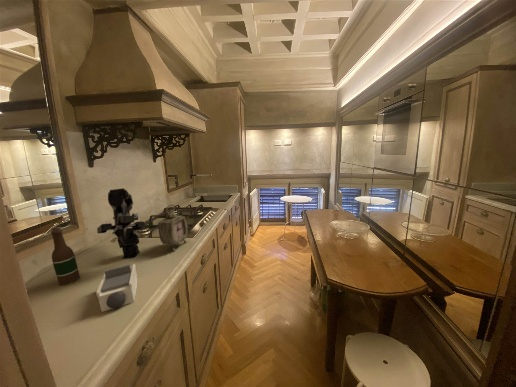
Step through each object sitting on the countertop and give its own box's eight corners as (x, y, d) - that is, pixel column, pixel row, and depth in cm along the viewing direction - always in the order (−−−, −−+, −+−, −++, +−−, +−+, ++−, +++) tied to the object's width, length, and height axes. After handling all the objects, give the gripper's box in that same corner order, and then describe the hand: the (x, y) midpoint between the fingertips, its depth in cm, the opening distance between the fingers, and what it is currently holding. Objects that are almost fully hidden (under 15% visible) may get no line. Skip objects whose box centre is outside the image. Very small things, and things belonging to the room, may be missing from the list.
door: (107, 279, 83) (105, 269, 82) (131, 272, 86) (129, 263, 86) (101, 292, 75) (99, 282, 74) (129, 284, 78) (127, 275, 78)
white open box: (109, 287, 88) (106, 270, 87) (138, 279, 93) (135, 263, 91) (100, 314, 73) (95, 295, 71) (134, 303, 77) (130, 285, 76)
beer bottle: (62, 278, 97) (48, 229, 92) (83, 273, 100) (71, 225, 95) (54, 287, 90) (39, 235, 85) (77, 282, 93) (63, 231, 88)
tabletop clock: (174, 253, 115) (167, 208, 110) (160, 252, 117) (153, 208, 112) (189, 241, 129) (184, 201, 123) (177, 240, 131) (171, 201, 126)
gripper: (104, 207, 91) (108, 243, 87) (148, 206, 106) (153, 237, 102) (95, 216, 97) (98, 249, 93) (137, 214, 112) (142, 243, 108)
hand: (125, 244), depth 99 cm, fingers closed
